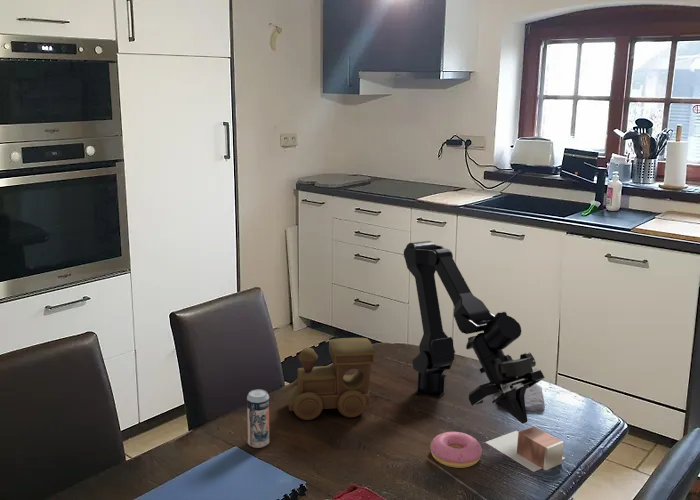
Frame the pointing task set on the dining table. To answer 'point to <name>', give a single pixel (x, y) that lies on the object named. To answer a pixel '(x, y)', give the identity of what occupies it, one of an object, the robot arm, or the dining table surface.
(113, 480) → the dining table surface
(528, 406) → the stone block
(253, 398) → the beer can
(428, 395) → the robot arm
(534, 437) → the brick block
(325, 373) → the wooden toy train
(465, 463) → the doughnut
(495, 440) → the white paper sheet
